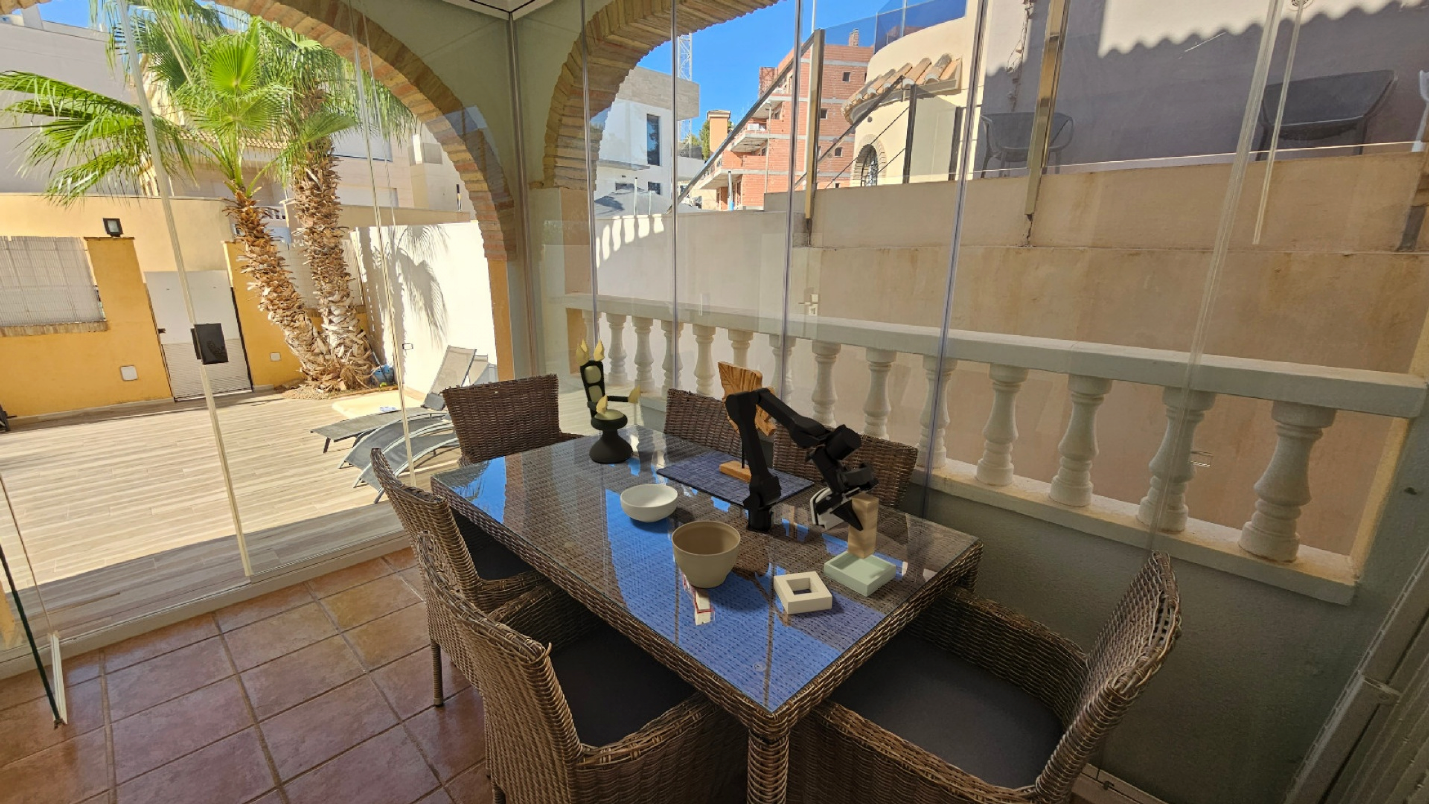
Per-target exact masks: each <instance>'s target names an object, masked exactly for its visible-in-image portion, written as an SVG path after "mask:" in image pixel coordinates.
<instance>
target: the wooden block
mask: <svg viewBox="0 0 1429 804" xmlns="http://www.w3.org/2000/svg"><path fill="white" fill-rule="evenodd" d="M851 499H852V508H853V510H854V512H855V514H856V515H857V517H858V519H859V521H860V523H861V525H862V527H863V530H862V531H858V530H857V529H855V528H854V527H853V526H851V525H850V524H848V532H847V534H848V536H847V552H849V553H851V554H853V555H855V556H857V557H859V558H861V559H863V560H864V559H865V558H867V557H868V556H870V555H874V554H875V551H876V541H877V538H876V537H877V529H878V527H877V525H878V515H879V502H880V501H879V500H880V498H879V497H876V496H874V495H872V494H871V495H869V494H866V493H863V492H861V493H859V494H857V495H855V496H853V497H851Z"/></svg>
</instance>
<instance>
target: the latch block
mask: <svg viewBox="0 0 1429 804" xmlns="http://www.w3.org/2000/svg"><path fill="white" fill-rule="evenodd" d="M773 590H774V591H775V592H776V594H777V597H778V598H779V600H780V602H781V605H782V606H783V609H784V610H785V612H786V614H787V615H794V614H801V613H809V612H815V611H824V610H831V609H832V608H833V595H832V594H831V592H830V591H829V589H828V588H827V586H826V585H825V584H824V582H823V581H822V579H821V578H820V576H819V574H818V573H817V572H816V570H814V571H805V572H797V573H789V574H782V575H781V574H779V575H774V576H773ZM803 590H809V591H810V592H808V593H800V594H794V592H795V591H803Z"/></svg>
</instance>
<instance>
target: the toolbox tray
mask: <svg viewBox="0 0 1429 804" xmlns="http://www.w3.org/2000/svg"><path fill="white" fill-rule="evenodd" d="M896 574H897V565H896V564H894V563H892V562H889V561H888V560H885V559H883V558H881V557H879V556H877V555H874V554H872V555H870V556H868V557H867V558H865V559H864V560H863V559H861V558H859V557H857V556H855V555H853V554H851V553H849V552H847V550H845V551H843V552H842V553H840V554H838V555H836V556H834V557H833V558H831V559H829V560H828V561H826V562H823V576H825V577H828V578H829V579H831V580H833V581H835V582H837V583H838V584H840V585H842V586H845V587H847V588H848V589H851V590H852V591H855V592H856V593H858V594H859V595H862V596H864V597H866V598H868V597H869V596H870V595H872V594H873V593H874V592H876V591H877V590H879V589H880V588H881V586H882V585H883V586H885V585H886V584H887V583H889V582H890V581H891V580H893V579H894V578H896ZM883 586H882V587H883ZM878 588H879V589H878Z"/></svg>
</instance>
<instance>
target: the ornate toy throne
mask: <svg viewBox="0 0 1429 804" xmlns="http://www.w3.org/2000/svg"><path fill="white" fill-rule="evenodd" d="M597 342H598V343H597V345H596V347H595V349H594V352H593V354H592V355H593V357H594V359H591V355H590V348H589V346H588V344H587V342H586V341H585V338H582V341H581V344H579V343H577V345H576V348H577V349H576V350H575V357H574V361H575V362H576V363H577V365H578V366H579V373H580V377H581V382H582V385H583V387H584V392H585V396H586V399H587V402H586V406H587V407H586V408H589V413H590V425H591V427H592V428H593V429H595V430H597V431H599V432H601V433H602V434H601V436H600V438H599V439H598V440H597V441H595V442H594V443H593V444H592V446H591V447H590V449H589V453H588V456H589V458H590V459H591V460H593V461H595V462H598V463H602V464H603V463H605V464H606V463H608V464H609V463H610V464H611V463H617V462H618V463H619V462H623V461H626V460H627V459H629V458H630V457H632V455H633V453H634V449H633V447H632V446H633V445H631V443H629V442H628V441H627V440H626V439H624V438H623V437H622V436H620V435H619V432H618V430H621V429H624V428H625V427H626V426H627V424H628V423H629V419H628V416H627V415H626V414H625V413H623V412H622V411H620V410H618V409H615V408H608V407H609V404H608V403H609V402H613V403H614V402H615V403H629V404H634V405H635V404H637V405H639V398H640V397H641V396H642V393H641V385H640V384H639V385H637V386H636V388H635V387H634V388H633V389H632V390H631V391H630V393H629V395H628V396H624V395H608V394H607V393H606V385H605V372H604V371H605V370H604V363H603V360H604V359H605V358H606V356H605V349H606V348H605V347H604V343H603V342H602V340H601V338H599V339H598V341H597Z"/></svg>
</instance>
